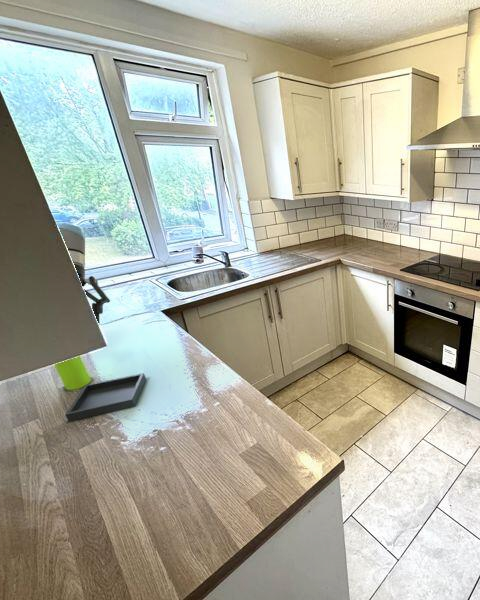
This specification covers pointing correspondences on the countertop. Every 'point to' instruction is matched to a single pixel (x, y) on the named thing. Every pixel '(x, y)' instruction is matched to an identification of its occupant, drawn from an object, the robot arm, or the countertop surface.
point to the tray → (106, 397)
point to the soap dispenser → (73, 373)
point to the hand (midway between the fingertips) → (67, 327)
